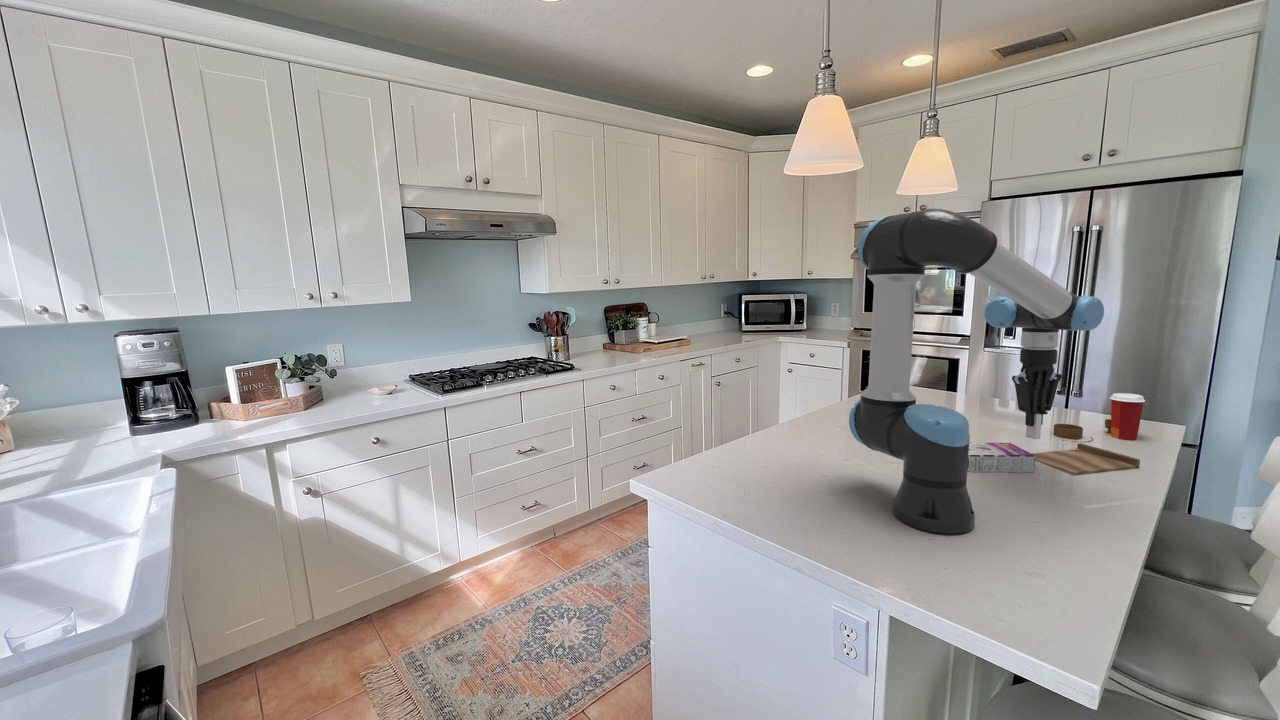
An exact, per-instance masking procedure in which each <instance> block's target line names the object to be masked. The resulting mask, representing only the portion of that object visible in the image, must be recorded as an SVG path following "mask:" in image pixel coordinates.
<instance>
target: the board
mask: <svg viewBox="0 0 1280 720" xmlns="http://www.w3.org/2000/svg"><path fill="white" fill-rule="evenodd" d="M1078 449H1079V450H1078ZM1031 454H1033V455H1035V462H1038V463H1040V464H1042V465H1046V466H1048V467H1051V468H1053V469H1056V470H1059V471H1061V472H1064V473H1066V474H1069V475H1071V476H1082V475H1090V474H1100V473H1108V472H1109V473H1110V472H1118V471H1126V470H1136V469H1137V470H1138V469H1140V464H1141V459H1140V458H1135V457H1132V456H1130V455H1129V456H1128V455H1125V454H1121V453H1118V452H1114V451H1110V450H1107V449H1103V448H1099V447H1097V446H1092V445H1089V444H1085V443H1083V442H1078V443H1077V445H1076V449H1075V450H1074V448H1073V449H1064V450H1054V451H1044V452H1042V451H1041V452H1035V453H1031Z"/></svg>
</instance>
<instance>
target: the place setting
mask: <svg viewBox="0 0 1280 720" xmlns="http://www.w3.org/2000/svg"><path fill="white" fill-rule="evenodd" d="M1104 427H1105V428H1106V429H1107V434H1109V435H1111V418H1110V419H1108V418H1107V419H1104ZM1052 430H1053V435H1055V436H1056V437H1058V438H1062V441H1064V442H1066V440H1063V439H1066V438H1067V440H1068V439H1069V440H1070V441H1071V443H1077V441H1074V440H1079V439H1081V438H1082V437H1083V434H1084V433H1083V431H1084V427H1082V426H1079V425H1077V424H1076V425H1075V424H1069V423H1055V424H1053V429H1052ZM1089 438H1090V439H1091V440H1088V441H1086V440H1085V443H1091V442H1093V441H1094V437H1093V438H1092V436H1090V437H1089Z"/></svg>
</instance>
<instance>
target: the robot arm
mask: <svg viewBox="0 0 1280 720" xmlns="http://www.w3.org/2000/svg"><path fill="white" fill-rule="evenodd" d="M862 231H863V232H862V233H861V235H860V237H859V240H858V246H857V254H858V258H859V260H860V261H861V264H862V265H863V266H864V267H865V268H866V269H867V275H866V277H867V278H868V280H870V281H871V282H872V284H873V296H872V297H873V299H872V316H871V332H870V334H871V335H870V348H869V349H870V352H869V365H868V366H869V370H868V386H867V387H866V388H865V389H863V391H862V392H861V393H860V399H859V400H857V401H856V402H855V403H854V406H853V407H851V410H850V411H849V415H848V425H849V430H850V432H851V434H852V436H853V438H854V439H855V440H856V441H857V442H859V443H860V444H861V445H863V446H865V447H867V448H868V449H870V450H872V451H875V452H879V453H882V454H884V455H887V456H890V457H893V458H896V459H898V460H901V461H903V462H902V463H903V465H902V466H903V469H902V470H903V472H902V480H901V483H900V485H899V487H898V490H897V494H896V496H895V498H894V499H893V503H892V514H893V516H894V518H896V519H897V520H899V521H900V522H901V523H904V524H905V525H908V526H911V527H912V528H916V529H919V530H923V531H925V532H932V533H938V534H963V533H966V532H969V531H972V530H973V529H974V528H975V525H976V524H975V523H976V522H975V521H976V515H975V514H976V513H975V510H974V509H973V505H972V501H971V498H970V495H969V491H968V488H967V481H968V480H967V479H968V478H967V477H968V472H967V467H968V453H969V443H971V441H970V440H971V435H970V425H969V420H968V419H967V418H966V416H964V414H963V413H961V412H959V411H958V410H954V409H952V408H949V407H945V406H942V405H935V404H929V403H928V404H927V403H917V396H915V394H914V393H913V392H912V391H911V390H910V387H911V386H910V383H911V382H910V381H911V370H912V368H911V367H912V353H913V339H914V336H913V335H914V321H915V308H916V307H915V304H916V293H917V292H916V291H917V289H916V288H917V284H918V283H919V281H921V280H922V279H923V278H924V277H925V275H926V273H925V271H926V267H930V266H934V267H935V266H936V267H944V268H949V269H952V270H953V271H955V272H956V273H958V274H961V275H962V274H963V275H967V274H969V275H971V276H973V277H974V278H976V279H978V280H979V281H981V282H983V284H984V283H985V284H986V285H987V286H989V287H990V288H992V289H994V290H995V291H997V292H999V293H1000V294H1002V295H1003V296H1001V297H1000V296H999V297H995V298H992V299H990V300H989V301H988V302H987V304H986V305H985V308H984V312H983V313H984V319H985V321H986V322H987V324H988V325H990V326H991V327H994V328H998V329H999V328H1000V329H1001V328H1002V329H1003V328H1004V329H1008V328H1021V336H1020V346H1021V347H1022V348H1021V349H1020V355H1019V362H1020V363H1021V364H1022V366H1021V369H1020V373H1019V374H1017V375H1011V376H1012V377H1011V380H1012V382H1013V384H1014V388H1015V394H1016V399H1017V407H1018V411H1020V412H1022V413H1025V422H1024V423H1025V426H1026V428H1025V437H1026V438H1028V439H1032V440H1041V433H1042V432H1041V431H1042V430H1041V429H1042V425H1043V422H1044V420H1043V419H1044V415H1048V413H1049V412H1050V411H1052V406H1053V403H1054V400H1055V396H1056V393H1057V391H1058V390H1057V388H1058V386H1059V382H1060V381H1061V379H1062V378H1063V375H1062V374H1061V373H1057V372H1056V371H1055V368H1054V365H1056V364H1057V362H1058V350H1057V349H1056V348H1058V344H1059V331H1072V332H1076V331H1088V332H1089V331H1092V330H1095V329H1097V328H1098V327H1099V326H1100V324H1102V320H1103V319H1104V315H1105V307H1104V303H1103V301H1102V300H1101V299H1100V298H1098V297H1096V296H1091V295H1089V296H1087V295H1085V294H1084V295H1076V294H1075V293H1072V292H1071V291H1069V290H1068V289H1066V288H1065V287H1064V286H1062V285H1060V284H1059V283H1058V282H1056V281H1054V280H1053V279H1052V278H1050V277H1049V276H1047V275H1046V274H1045V273H1043V272H1041V271H1040V270H1039V269H1037V268H1036V267H1034V266H1033V265H1031V264H1030V263H1029V262H1027V261H1026V260H1024V259H1023V258H1021V257H1020V256H1018V255H1017V254H1015V253H1014V252H1012V251H1011V250H1010V249H1008V248H1006V247H1005V246H1004V245H1002V244H1001V243H999V239H998V236H997V235H996V233H994V232H993V231H992V230H990V229H989V228H987V227H985V226H984V225H982V224H981V223H979V222H977V221H976V220H973V219H972V218H970V217H968V216H965V215H962V214H960V213H957V212H955V211H951V210H946V209H943V208H926V209H921V210H917V211H911V212H906V213H905V212H904V213H899V214H895V215H894V214H893V215H888V216H885V217H883V218H879V219H877V220H875V221H872V222H871V223H870V224H869V225H868V226H867V227H866V228H865V229H864V230H862Z"/></svg>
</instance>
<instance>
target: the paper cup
mask: <svg viewBox="0 0 1280 720" xmlns="http://www.w3.org/2000/svg"><path fill="white" fill-rule="evenodd" d="M1144 398H1145V397H1144V396H1143V395H1141V394H1137V393H1136V394H1134V393H1125V392H1117V393H1114V392H1113V393H1112V395H1110V397H1109V399H1110V400H1111V401H1110V403H1111V404H1110V419H1111V429H1110V430H1111V434H1110V437H1112V438H1113V439H1117V440H1123V441H1130V442H1131V441H1133V442H1134V441H1137V440H1138V436H1139V435H1138V434H1139V429H1140V423H1141V419H1142V418H1141V417H1142V415H1143V414H1142V413H1143V407H1144V402H1146V400H1145V399H1144Z"/></svg>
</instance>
